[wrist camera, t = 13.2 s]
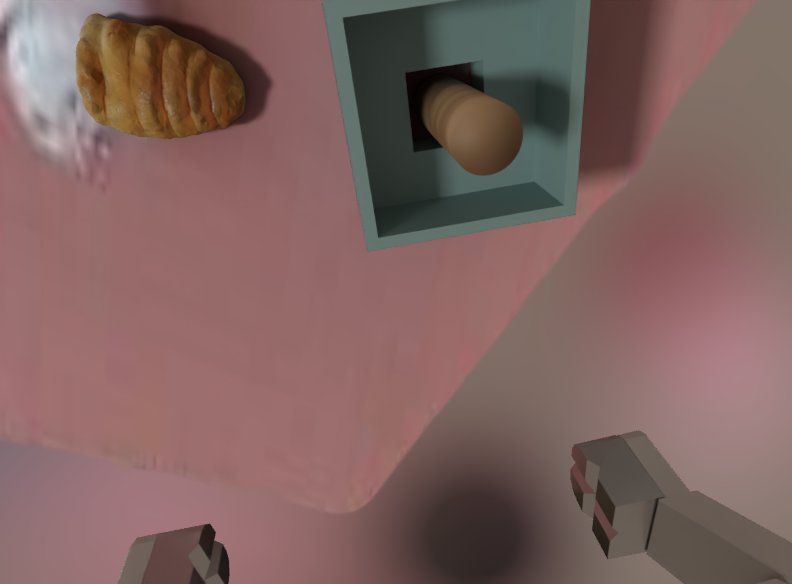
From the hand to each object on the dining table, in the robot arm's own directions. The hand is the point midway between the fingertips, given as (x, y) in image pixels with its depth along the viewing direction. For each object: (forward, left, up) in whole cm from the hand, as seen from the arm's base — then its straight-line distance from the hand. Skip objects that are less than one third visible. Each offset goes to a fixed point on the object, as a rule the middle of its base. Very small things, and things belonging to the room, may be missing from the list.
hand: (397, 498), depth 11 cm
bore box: (-3, +7, -28) cm, 30 cm away
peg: (-3, +7, -28) cm, 30 cm away
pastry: (-7, -11, -29) cm, 32 cm away
